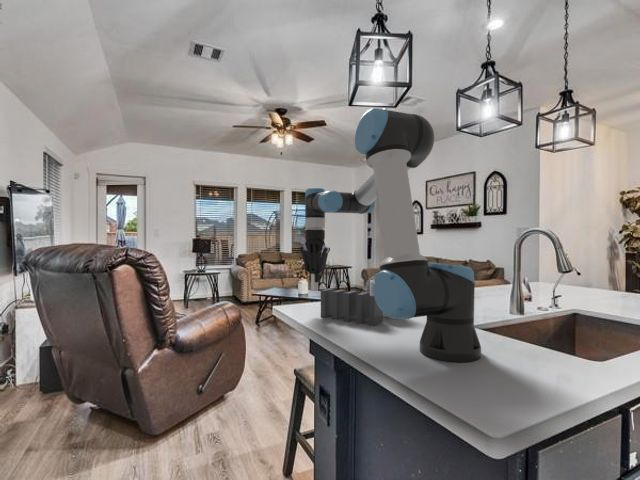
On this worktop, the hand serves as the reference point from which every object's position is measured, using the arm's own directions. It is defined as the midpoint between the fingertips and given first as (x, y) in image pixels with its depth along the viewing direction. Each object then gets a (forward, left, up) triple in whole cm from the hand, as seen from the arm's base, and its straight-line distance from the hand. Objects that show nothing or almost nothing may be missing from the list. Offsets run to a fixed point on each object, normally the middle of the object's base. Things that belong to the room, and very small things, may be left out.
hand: (314, 290), depth 140 cm
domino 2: (-7, -9, -9) cm, 14 cm away
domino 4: (-13, -17, -9) cm, 23 cm away
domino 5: (-16, -21, -9) cm, 28 cm away
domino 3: (-10, -13, -9) cm, 19 cm away
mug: (-4, -27, -9) cm, 29 cm away
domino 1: (-4, -5, -9) cm, 11 cm away
